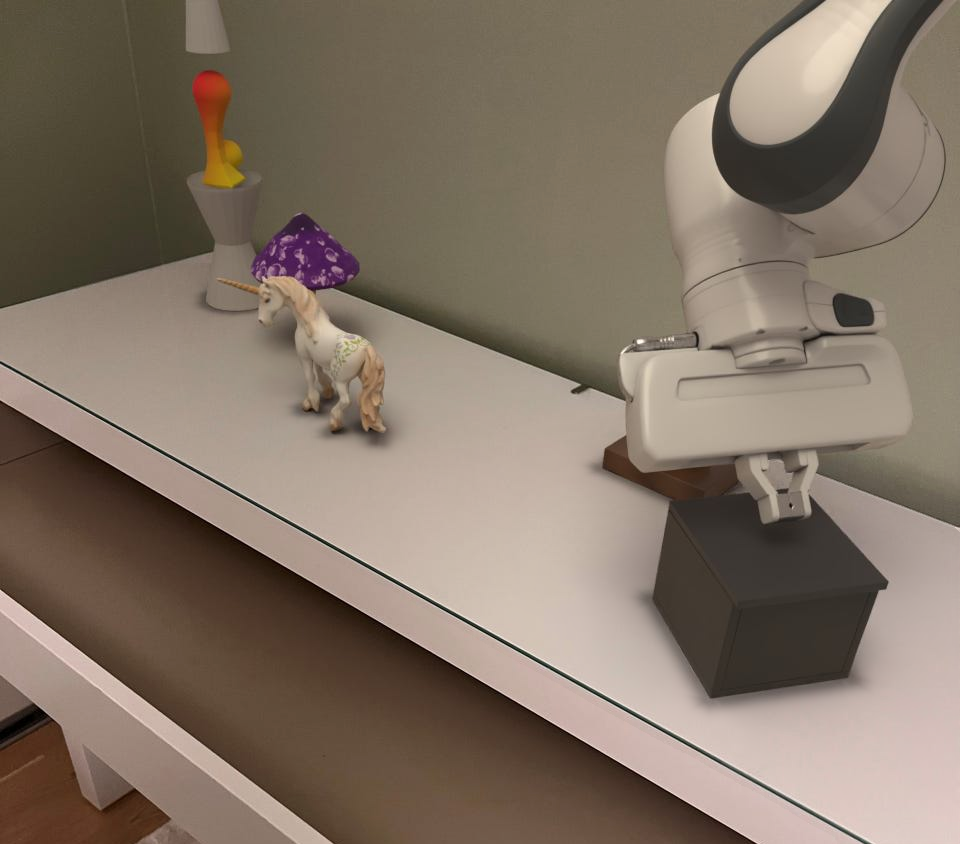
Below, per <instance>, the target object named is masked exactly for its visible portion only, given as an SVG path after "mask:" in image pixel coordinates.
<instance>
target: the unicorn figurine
mask: <svg viewBox="0 0 960 844" xmlns="http://www.w3.org/2000/svg"><path fill="white" fill-rule="evenodd" d="M216 280H218V281H219V282H222V283H224V284H228V285H230V286H233V287H236V288H238V289H241V290H244V291H247V292H250V293H252V294H256V295H259V297H260V304H259V308H258V310H257V312H258V317H257V321H258V323H260V325H262V327H263V328H270V327H271V326H273V325H275V317H276V315H277V314H278V312H279V311H281V310H283V308H285V307H287V309H289V310H290V311H291V312H292V315H293V316H294V318H295V321H296V325H297V326H296V329H295V332H294V342H295V350H296V353H297V356H298V358H299V361H300V364H301V366H302V368H303V371H304V380H305V383H306V386H307V395H306V398H305V399H304V400H303V402H302V404H301V408H302V410H304V411H309V410H310V409H313V410H314V411H315V412H316V413H318V412H319V410H320V407H319V406H320V400H321V394H320V392H319V390H318V389H317V388H316V385H315V383H316V382H315V381H316V374H317V380H318V381H317V382H318V384H319V385H320V388H321V392H322V394H323V396H324V398H325V399H326V400H330V399H331V398H333V397H334V394H335V389H334V387H333V380H334V383H335V388H336V391H337V393H338V396H339V399H338V402H337V403H336V404H335V405H334V406H333V407H332V408H331V409H330V418H329V429H330V432H335V431H338V430H340V429H342V428H343V420H344V419H345V417H346V415H345V409H347V408H348V407H350V405H351V404H352V400H351V398H350V384H351V382H352V381H353V380H355V379H356V378H358V379H359V381H360V383H361V388H362V389H361V390H360V391H359V393H358V395H357V403H358V405H359V418H360V420H361V427H362V428H363V430H364V431H365V432H366V433H367V432H369V429H372V430H374V431H376V432H378V433H381V434H383V433H386V432H387V428H386V426H384V425H383V423H384V420H383V417H382V416H381V414H380V410H381V407H380V406H382V405H384V394H383V392H384V388H385V379H386V370H385V363H384V359H383V358H382V356H380V354H378V352H377V350H376V348H375V346H374V345H373V344H372V343H371V342H370V341H368V340H367V339H366V338H364V337H362V336H361V335H358V334H354V333H350V332H346V331H344V330H342V329H341V328H339V327H337V326H336V325H334V324H333V323H332V322H331V321H330V320H331V319H330V316H329V315H328V313H327V311H326V310H325V309H324V307H323V304H322V302H321V301H320V300H319V298H318V296H317V294H316V295H315V294H314V293H313V292H312V291H310V290H309V289H307V288H306V287H305V286H304V285H302V284H300V283H299V281H297V280H296V279H295V278H293V277H286V276H281V277H275V276H271V277H269V278H268V279H266V278H265V277H264V276H262V281H263V284H261V285H260V286H259V288H258V287H254V286H249V285H247V284H242V283H237V282H233V281H228V280H226V279H222V278H217V279H216ZM314 368H315V372H316V374H315V372H314ZM324 370H325V371H329V372H330V373H331V376H332V377H333V379H332V377H331V376H330V375H329V374H328V373H326V372H324Z"/></svg>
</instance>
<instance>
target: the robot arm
mask: <svg viewBox="0 0 960 844" xmlns="http://www.w3.org/2000/svg"><path fill="white" fill-rule="evenodd" d="M956 2H957V0H802V1H801V2H800V3H799V4H797V5H796V6H795V7H794V8H792V10H790V11H789V12H788V13H787V14H785V15H784V16H783V17H782V18H780V19H778V21H777V22H775V23H774V24H773V25H771V27H769V28H768V29H767V30H766V31H765V32H764V33H762V34H761V35H760V36H759V37H757V39H756V40H755V41H754V42H753V43H752V44H751V45H750V46H749V47H748V48H747V49H746V50H745V51H744V53H743V54H742V55H741V56H740V57H739V58H738V60H737V61H736V63H735V64H734V66H733V67H732V69H731V70H730V72H729V74H728V76H727V77H726V80H725V81H724V83H723V85H722V88H721V90H720V92H719V93H717V94H714V95H711V96H710V97H707V98H705V99H704V100H702V101H700V102H698V104H696V105H695V106H693V107H692V108H690V109H689V110H688V111H687V112H686V113H685V114H684V115H683V116H682V117H681V118H680V119H679V120H678V122H677V123H675V126H674V127H673V129H672V130H671V132H670V134H669V138H668V140H667V143H666V148H665V152H664V160H663V169H662V170H663V174H662V175H663V191H664V193H663V195H664V203H665V212H666V218H667V219H666V220H667V226H668V231H669V238H670V244H671V249H672V251H673V254H674V256H675V258H676V259H677V262H678V263H679V266H680V269H681V274H682V277H681V278H682V283H681V292H680V302H681V307H682V312H683V319H684V325H685V329H686V332H685V333H673V334H667V335H663V336H651V335H650V336H649V335H645V336H639V337H636V338H634V339H633V340H632V343H629V344H626V346H624V347H622V348H621V350H620V352H619V353H618V355H617V357H616V363H615V368H616V374H617V375H616V376H617V382H618V386H619V389H620V391H621V394H622V395H623V396H624V397H625V407H624V408H625V411H624V413H625V435H626V438H627V448H628V456H629V459H630V461H631V462H632V463H633V464H634V465H635V466H636V467H637V468H638V469H639V470H640V471H641V472H644V473H646V472H657V471H666V470H676V469H686V468H695V467H705V466H715V465H725V464H734V463H735V467H736V472H737V478H738V480H739V481H738V482H739V483H740V484H741V485H742V486H743V488H745V489H746V491H747V493H748V492H749V493H750V494H751V495H752V497H753V498H754V499H755V500H757V502H758V507H759V512H760V518H761V521H762V523H763V524H772V523H779V522H788V521H798V520H803V519H806V518H809V517H810V516H811V505H810V500H809V495H810V494H809V491H810V490H811V487H812V484H813V482H814V479H815V477H816V473H817V471H818V468H819V465H820V464H819V457H818V456H820V455H821V456H822V455H831V454H840V453H841V454H842V453H850V452H860V451H861V452H862V451H869V450H870V451H871V450H879V449H884V448H887V447H888V446H890V445H893V444H896V443H898V442H900V441H902V440H904V439H905V438H906V437H908V435H909V433H910V431H911V428H912V426H913V423H914V418H915V416H914V409H913V404H912V399H911V396H910V395H911V393H910V390H909V385H908V381H907V378H906V375H905V374H906V373H905V371H904V367H903V365H902V361H901V359H900V356H899V354H898V351H897V350H896V348H895V347H894V345H893V344H892V342H890V341H889V340H888V339H887V338H886V337H884V336H882V335H879V334H878V333H880V332H881V331H882V330H883V329H884V328H886V326H887V324H888V315H887V314H888V313H887V309H886V307H885V305H884V303H882V302H881V301H880V300H878V299H876V298H872V297H869V296H865V295H860V294H857V293H853V292H849V291H845V290H842V289H839V288H836V287H833V286H830V285H828V284H825V283H822V282H820V281H817V280H814V279H813V280H811V275H810V274H811V273H810V270H809V265H810V264H809V263H810V261H811V260H813V259H823V258H830V257H835V256H840V255H844V254H849V253H853V252H858V251H861V250H865V249H869V248H873V247H876V246H880V245H883V244H885V243H888V242H891V241H893V240H895V239H897V238H898V237H900V236H902V235H903V234H905V233H906V232H907V231H909V230H910V229H911V228H913V227H914V226H915V225H916V224H917V223H918V222H919V221H920V220H921V219H922V218H923V217H924V216H925V214H926V213H927V212H928V211H929V209H930V208H931V207H932V205H933V204H934V201H935V199H936V198H937V196H938V194H939V191H940V189H941V187H942V184H943V180H944V176H945V173H946V163H947V157H946V156H947V155H946V147H945V143H944V140H943V137H942V135H941V133H940V130H938V128H937V127H936V126H935V124H934V123H933V122H932V121H931V119H930V117H929V116H928V115H927V113H926V112H925V111H924V110H923V108H922V107H921V105H919V103H918V102H917V101H916V99H915V98H914V97H913V96H912V94H911V93H909V92H908V91H907V90H906V89H905V88H904V87H903V86H902V79H903V75H904V72H905V69H906V66H907V64H908V61H909V59H910V57H911V55H912V54H913V52H914V50H915V49H916V48H917V46H918V45H919V43H920V42H921V41H922V40H923V39H924V38H925V36H927V34H928V33H929V32H930V31H931V30H932V29H933V27H934V26H935V25H936V24H937V23H938V22H939V21H940V20H941V18H943V16H944V15H945V14H946V13H947V12H948V11H949V10H950V9H951V7H952V6H953V5H954V4H955V3H956ZM630 351H633V352H630ZM772 460H773V461H774V460H782V462H783V467H784V472H785V473H786V474H791V473H792V476H791V479H790V483H789V486H788V488H789V490H788V493H783V494H778V493H777V491H776V490H777V489H775V487H774V486H773V484H772V483H771V482H770V480H769V478H768V477H767V475H766V474H765V473H764V472H766V471H767V470H768V471H769V469H770V462H769V461H772Z"/></svg>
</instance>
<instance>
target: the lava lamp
mask: <svg viewBox="0 0 960 844" xmlns="http://www.w3.org/2000/svg"><path fill="white" fill-rule="evenodd" d="M185 51H186V52H188V53H192V54H203V55H204V54H205V55H211V54H223V53H227V52H230V51H231V47H230V43H229V37H228V35H227V31H226V28H225V23H224V19H223V16H222V11H221V7H220V4H219V0H185ZM191 89H192V95H193V98H194V101H195V104H196V107H197V110H198V113H199V116H200V120H201V124H202V127H203V132H204V139H205V145H206V165H205V167H206V168H205V170H201V171H196V172H194V173H192V174H190V175H189V176H187V177H186V185H187V186H188V190H189V192H190V193H191V195H192V197H193V199H194V202H195V203H196V205H197V207H198V209H199V212H200V213H201V216H202V219H203V220H204V221H205V224H206V226H207V227H208V230H209V232H210V233H211V236H212V238H213V240H214V246H213V253H212V258H211V263H210V264H211V265H210V270H209V277H208V283H207V289H206V296H205V303H206V304H208V305H209V306H210V307H212V308H214V309H216V310H217V309H218V310H222V311H231V312H241V311H251V310H256V309H259V304H260V297H259V295H256V294H252V293H250V292H247V291H244V290H241V289H238V288H236V287H233V286H230V285H228V284H224V283H222V282H219V281H218V280H216V279H217V278H222V279H226V280H228V281H233V282H237V283H242V284H247V285H249V286H254V287H258V288H259V286H260V285H261V284H262V283H260V282H258V281H257V280H256V279H255V278H254V276H253V275H252V274H251V272H250V270H251V265H252V263H253V261H254V259H255V257H256V256H257V255H258V254H257V253H256V251H255V248H254V247H253V244H252V241H251V235H252V232H253V226H254V223H255V218H256V214H257V209H258V204H259V200H260V195H261V190H262V185H263V176H262V175H261V174H260V173H259V172H256V171H253V170H249V169H243V168H240V167H241V166H242V163H243V160H244V159H243V158H244V156H243V151H242V149H241V148H240V146H239V145H238V144H237V143H236V142H234V141H232V140H231V139H224V135H223V128H224V123H225V118H226V114H227V111H228V107H229V105H230V104H231V103H230V102H231V100H232V94H233V93H232V87H231V84H230V83H229V80H228V79H227V78H226V77H225V75H223V74H222V73H221V72H218V71H217V70H212V69H208V70H203V71H201V72H199V73H198V74H197V75H196V77H195V78H194V79H193V82H192V88H191Z"/></svg>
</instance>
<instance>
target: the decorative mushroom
mask: <svg viewBox="0 0 960 844" xmlns="http://www.w3.org/2000/svg"><path fill="white" fill-rule="evenodd" d="M256 255H257V256H256V257H255V259H254V261H253V263H252V265H251V270H250V272H251V274H252V275H253V276H254V278H255V279H256V280H257V281H258V282H260V283H262V284H263V281H262V276H264V277H265V278H266V279H268V278H269V277H271V276H275V277H281V276H286V277H293V278H295V279H296V280H297V281H299V283H300V284H302V285H304V286H305V287H306V288H307V289H309V290H310V291H312V292H313V293H314V294H315V295H316V296H317V291H321V290H322V291H323V290H329V289H330V290H331V289H334V288H337V287H340V286H344V285H345V284H348V283H350V282H351V281H353V280H354V279H355V278H356V277H357V275H358V274H359V273H360V270H361V268H360V267H361V266H360V262H359V261H358V259H357V257H356V256H355V255H353V254H352V253H351V252H350V251H349V250H348V249H346V248H345V247H344V246H343V245H342V244H341V243H340V242H339V241H338V240H337V239H335V237H334V236H333V235H332V234H331V233H329V232H328V231H327V230H326V229H324V228H323V227H322V226H320V224H318V223H317V222H316V221H315V220H313V218H312V217H310V216H309V215H308V214H307V213H304V212H298V213H296V214H295V215H294V216H292V218H291V219H290V220H289V222H288V223H287V224H286V225H285V226H284V227H282V229H281V230H280V231H278V232H277V233H275V234H274V235H273V236H272V238H271V239H270V240H269V241H268V243H267V244H265V246H264V248H263V249H262V250H261V251H260V252H259V253H258V254H256Z"/></svg>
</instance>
